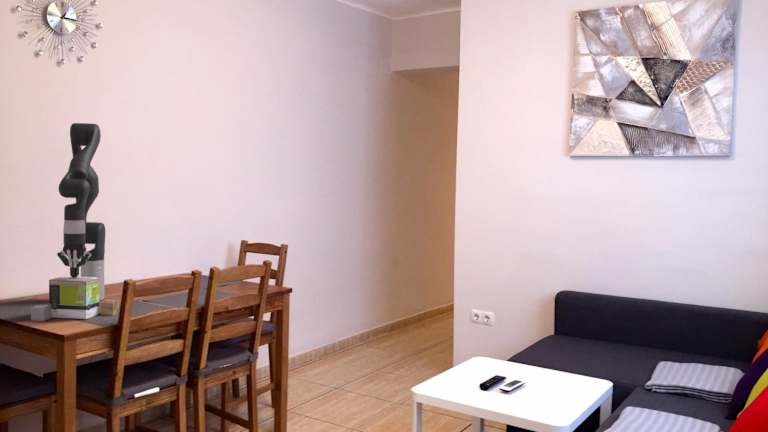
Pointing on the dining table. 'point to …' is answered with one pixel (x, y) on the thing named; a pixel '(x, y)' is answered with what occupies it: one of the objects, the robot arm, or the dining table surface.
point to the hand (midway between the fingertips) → (74, 277)
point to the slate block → (41, 312)
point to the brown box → (109, 307)
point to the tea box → (74, 297)
